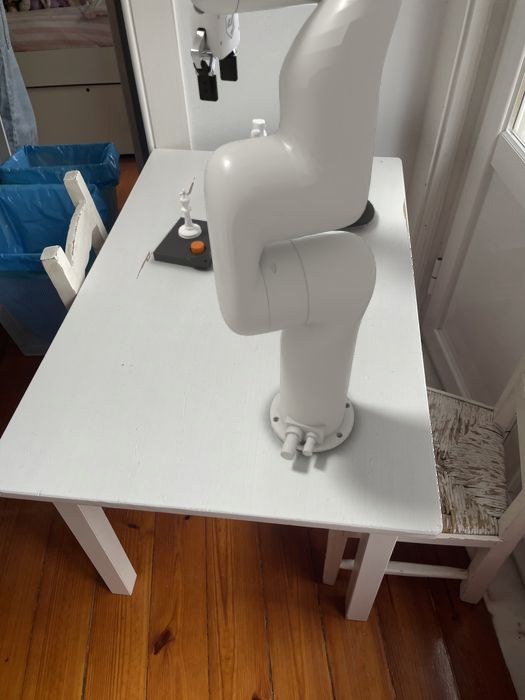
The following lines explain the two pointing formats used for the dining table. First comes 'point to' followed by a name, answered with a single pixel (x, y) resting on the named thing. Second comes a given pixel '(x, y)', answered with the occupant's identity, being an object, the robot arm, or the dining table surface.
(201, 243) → the button
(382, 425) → the dining table surface
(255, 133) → the figurine
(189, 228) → the chess piece
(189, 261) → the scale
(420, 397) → the dining table surface
